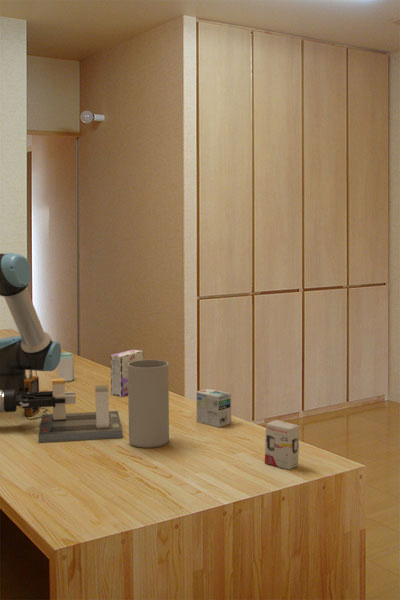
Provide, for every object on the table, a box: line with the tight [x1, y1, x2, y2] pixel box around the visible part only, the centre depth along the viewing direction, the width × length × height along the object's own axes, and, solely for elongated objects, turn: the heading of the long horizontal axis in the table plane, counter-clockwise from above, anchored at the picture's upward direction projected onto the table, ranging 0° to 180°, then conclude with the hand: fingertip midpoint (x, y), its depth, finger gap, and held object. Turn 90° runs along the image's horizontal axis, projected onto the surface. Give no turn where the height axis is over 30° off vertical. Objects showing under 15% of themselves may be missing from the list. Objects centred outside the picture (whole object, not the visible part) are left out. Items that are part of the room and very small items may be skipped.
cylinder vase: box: [127, 359, 170, 449], centre depth 217 cm, size 12×12×25 cm
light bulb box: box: [196, 388, 232, 428], centre depth 238 cm, size 11×7×11 cm, turn 47°
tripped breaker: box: [51, 377, 67, 420], centre depth 235 cm, size 4×4×13 cm
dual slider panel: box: [38, 384, 123, 444], centre depth 231 cm, size 23×26×16 cm
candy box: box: [110, 349, 144, 398], centre depth 280 cm, size 14×6×16 cm, turn 144°
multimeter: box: [23, 358, 49, 421], centre depth 249 cm, size 15×10×20 cm
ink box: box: [264, 419, 301, 470], centre depth 197 cm, size 9×5×12 cm, turn 50°
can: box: [56, 351, 75, 383], centre depth 302 cm, size 7×7×12 cm
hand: (75, 397), depth 236 cm, fingers closed on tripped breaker, 4 cm apart
